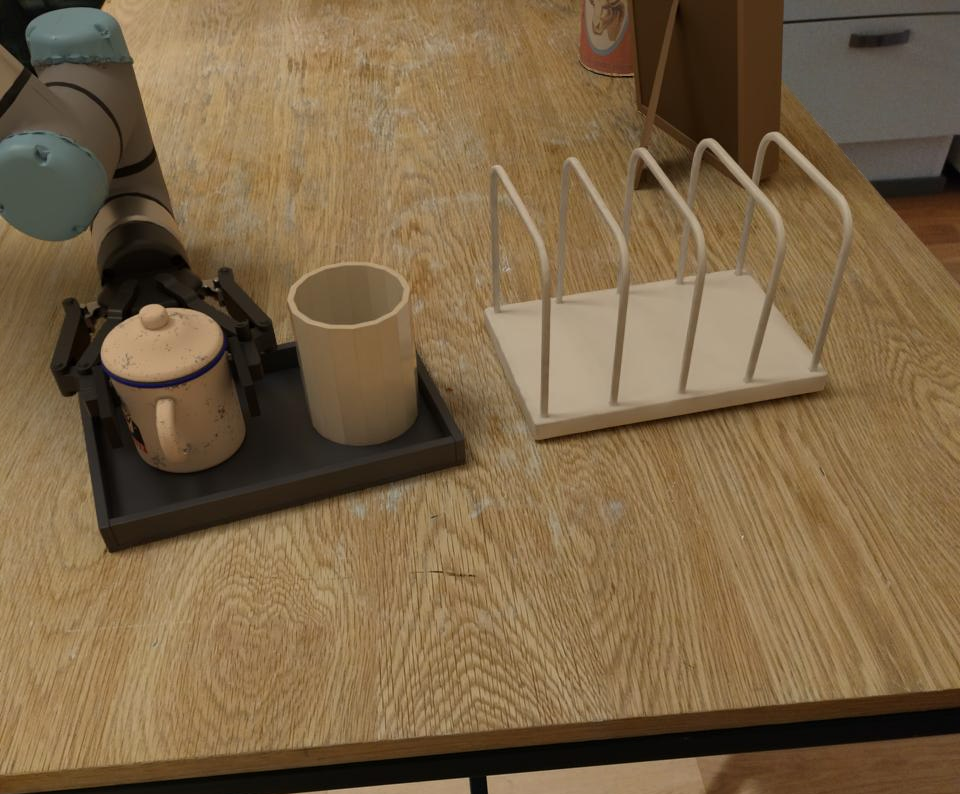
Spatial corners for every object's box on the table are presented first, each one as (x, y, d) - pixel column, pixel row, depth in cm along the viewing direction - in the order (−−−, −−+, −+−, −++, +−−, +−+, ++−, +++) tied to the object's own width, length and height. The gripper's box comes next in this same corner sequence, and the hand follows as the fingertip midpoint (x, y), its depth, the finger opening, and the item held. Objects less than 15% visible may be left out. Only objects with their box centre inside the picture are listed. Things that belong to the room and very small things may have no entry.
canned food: (561, 64, 125) (566, -46, 115) (608, 36, 130) (616, -70, 121) (636, 84, 120) (647, -28, 111) (681, 55, 126) (696, -54, 116)
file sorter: (741, 285, 91) (778, 111, 79) (823, 395, 80) (881, 213, 68) (483, 324, 88) (480, 148, 75) (533, 444, 77) (540, 262, 65)
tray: (108, 552, 70) (98, 529, 68) (86, 411, 81) (76, 387, 79) (466, 463, 76) (465, 439, 74) (401, 342, 86) (399, 318, 84)
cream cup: (325, 460, 76) (303, 339, 68) (299, 395, 81) (276, 275, 73) (433, 434, 78) (425, 313, 69) (401, 372, 83) (389, 252, 75)
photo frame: (667, 104, 116) (700, -159, 97) (776, 180, 104) (839, -105, 84) (559, 129, 113) (571, -140, 93) (659, 211, 100) (697, -80, 81)
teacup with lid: (139, 410, 80) (93, 281, 71) (250, 399, 80) (218, 270, 71) (127, 509, 72) (73, 379, 63) (248, 496, 73) (212, 365, 64)
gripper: (277, 277, 87) (339, 423, 74) (27, 328, 83) (44, 493, 70) (261, 196, 82) (325, 338, 68) (-9, 246, 77) (2, 409, 64)
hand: (183, 416), depth 69 cm, fingers open, 9 cm apart
